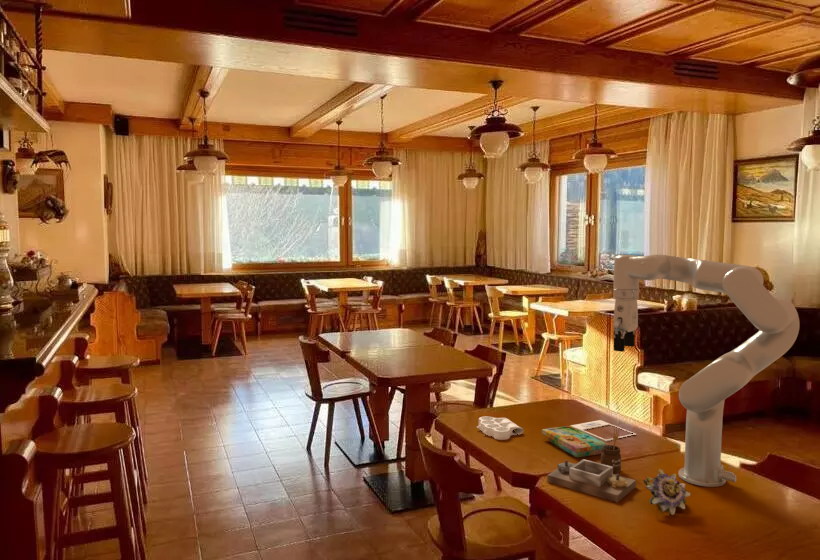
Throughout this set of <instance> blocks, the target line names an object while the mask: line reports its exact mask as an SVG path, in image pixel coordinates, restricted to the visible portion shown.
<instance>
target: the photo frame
mask: <svg viewBox="0 0 820 560" xmlns="http://www.w3.org/2000/svg"><path fill="white" fill-rule="evenodd" d="M605 425H611V426H610V427H612V426H615V427H617V428H620V429H622V430H624V431H623V432H625V431H627V432H630V433H633V434H630V433H629V434H626V435H622V436H621V435H620V436H618V438H622V439H624V438H623V437H626V438H628V437H627V436H631V435H636V436H637V433H635V432H632V431H629V430H628V429H624V428H623V427H619V426H618V425H614V424H611V423H610V422H607V421H604V420H602V419H599V420H598V419H597V420H593V421H589V422H582V423H577V424H571V425H570V426H572V427H574V428H576V429H578V430H580V431H582V432H584V433H586V434H588V435H590V436H592V437H594V438H596V439H598V440H600V441H602V442H604V443H608V442H611V440H612V441H614V439H613V437H612V438H611V437H610V438H611V439H610V438H609V439H608V438H603V437H601V436H598V435H596V434H594V433H591V432H589V431H587V429H588V430H592V428H594V429H598V427H599V428H602V426H604V427H606V426H605ZM617 428H616V429H617ZM620 429H619V430H620ZM622 430H621V431H622ZM627 432H626V433H627ZM631 437H632V436H631ZM604 439H605V441H604Z"/></svg>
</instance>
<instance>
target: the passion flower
mask: <svg viewBox="0 0 820 560" xmlns="http://www.w3.org/2000/svg"><path fill="white" fill-rule="evenodd" d="M652 480H653V481H652ZM650 481H652V482H650ZM642 482H643V483H644V485H645V486H644V488H645V489H646V490H649V492H650V494H651V495H652V497H650V499H649V504H650V505H657V504H658V506H659V509H660V511H661V512H662V513H664V512H667V513H668V514H669V515H670V514H671V515H670V516H674V515H675V514H676V508H677V507H678V508H679V509H682V510H686V502H687V499H686V498H688V497H690V496H691V492H688V491H687V490H686V483H683V482H682V483H681V482H680V481H679V480H678V478H677V474H676V473H673V474H670V475H669V474H668V473H666V474H665V472H664V470H663V469H661V468H659V469H658V472H657V475H656V477H653V478H652V477H649V476H647V477H646V479H644V480H643V481H642Z"/></svg>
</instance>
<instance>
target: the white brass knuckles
mask: <svg viewBox="0 0 820 560" xmlns="http://www.w3.org/2000/svg"><path fill="white" fill-rule="evenodd" d="M476 428H477V429H479V431H480V430H481V431H482V432H481V431H480V432H481V433H483V434H484V435H485V434H486V435H485V436H487V435H488V437H491V436H492V438H494V440H498V441H499V440H500V441H502V440H505V441H506V440H509V439H510V438H511V436H518V435H519V436H520V435H522V434H523V433H524V428H522V427H521V426H519V425H517V424H516V423H515V422H513V421H511V420H510V419H509V418H507V417H493V416H485V415H484V416H481V417H479V418H478V426H476ZM513 430H515V431H516V432H514V431H513ZM517 434H518V435H517Z"/></svg>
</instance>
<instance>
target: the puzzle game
mask: <svg viewBox="0 0 820 560" xmlns="http://www.w3.org/2000/svg"><path fill="white" fill-rule="evenodd" d="M541 433H542V435H544V436H545V437H547V439H548V441H549V442H550V443H551V444H553V445H555V446H557V447H558V448H560V449H561V450H563V451H564V452H566V453H568V454H571V456H574V457H575V458H582V457H583V458H584V457H591V456H596V455H601V453H602V452H603V451H602V448H603V446H605V445H607V443H606V442H605V441H603V440H600V439H598V438H596V437H593V436H591V435H589V434H586V433H584V432H582V431H580V430H578V429H576V428H574V427H572V426H571V425H566V426H558V427H548V428H543V429H541ZM604 444H605V445H604Z"/></svg>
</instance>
